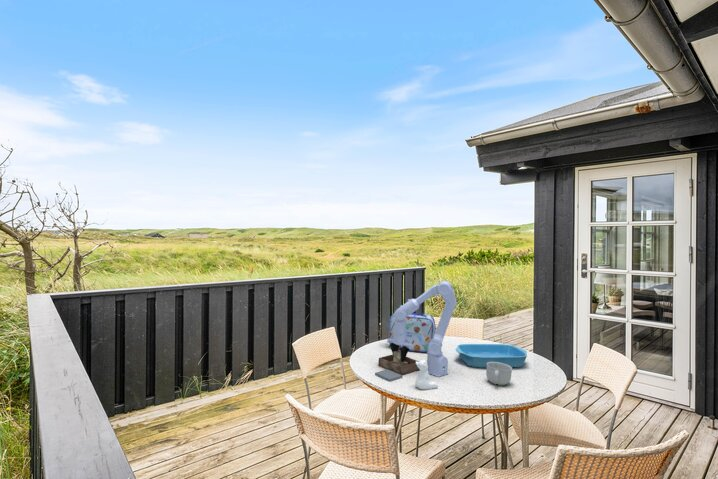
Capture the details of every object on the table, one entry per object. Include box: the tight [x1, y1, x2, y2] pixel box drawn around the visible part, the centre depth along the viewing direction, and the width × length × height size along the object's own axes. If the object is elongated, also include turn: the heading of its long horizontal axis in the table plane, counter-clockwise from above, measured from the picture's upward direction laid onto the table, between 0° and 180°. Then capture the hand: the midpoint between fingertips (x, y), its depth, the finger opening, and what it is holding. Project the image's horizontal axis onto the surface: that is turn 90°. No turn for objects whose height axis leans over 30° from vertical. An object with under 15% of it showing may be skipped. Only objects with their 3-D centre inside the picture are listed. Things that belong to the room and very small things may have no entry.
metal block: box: [394, 349, 405, 364], centre depth 183 cm, size 4×4×5 cm
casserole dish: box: [455, 343, 528, 369], centre depth 195 cm, size 37×22×7 cm, turn 93°
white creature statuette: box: [415, 359, 439, 391], centre depth 160 cm, size 10×9×12 cm
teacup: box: [485, 362, 513, 386], centre depth 166 cm, size 14×11×8 cm
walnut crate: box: [378, 354, 420, 376], centre depth 183 cm, size 16×13×4 cm
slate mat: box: [374, 369, 403, 383], centre depth 172 cm, size 10×8×1 cm
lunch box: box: [388, 312, 437, 353], centre depth 214 cm, size 28×10×22 cm, turn 73°
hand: (399, 360), depth 183 cm, fingers closed on metal block, 4 cm apart
